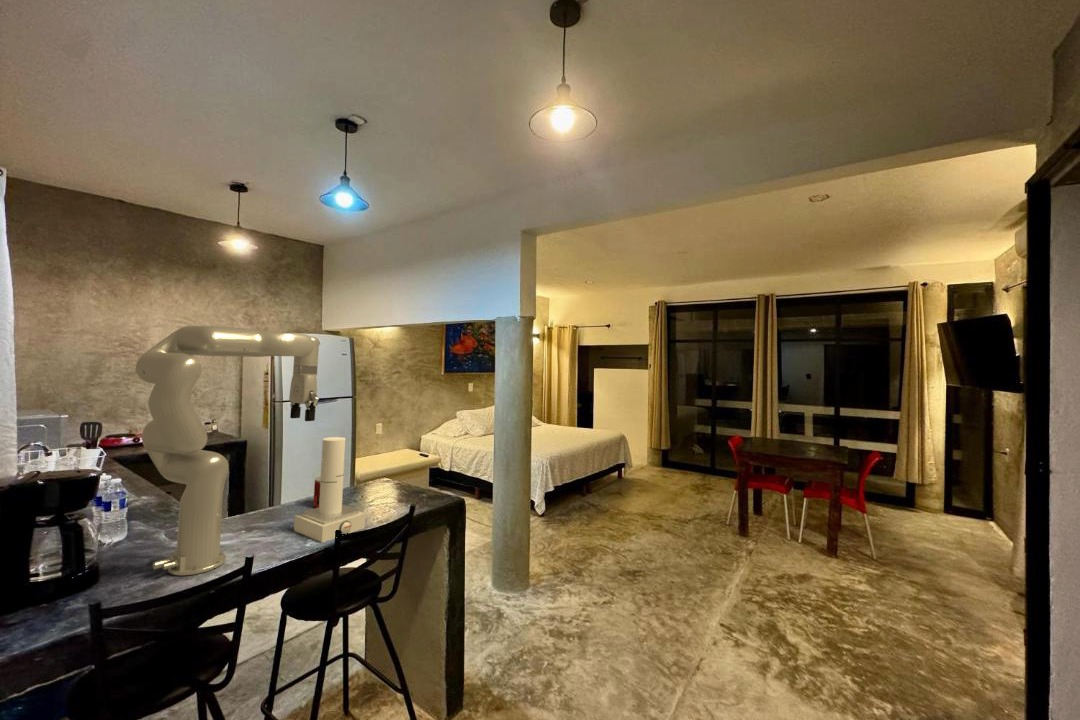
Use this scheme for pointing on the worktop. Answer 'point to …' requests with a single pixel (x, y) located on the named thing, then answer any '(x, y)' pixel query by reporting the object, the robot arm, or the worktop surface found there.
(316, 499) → the canned food
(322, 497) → the cylindrical container
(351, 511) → the scale pan
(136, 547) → the worktop surface
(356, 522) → the scale base
